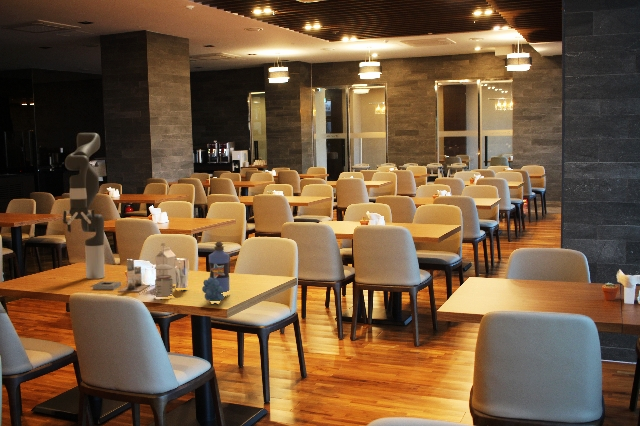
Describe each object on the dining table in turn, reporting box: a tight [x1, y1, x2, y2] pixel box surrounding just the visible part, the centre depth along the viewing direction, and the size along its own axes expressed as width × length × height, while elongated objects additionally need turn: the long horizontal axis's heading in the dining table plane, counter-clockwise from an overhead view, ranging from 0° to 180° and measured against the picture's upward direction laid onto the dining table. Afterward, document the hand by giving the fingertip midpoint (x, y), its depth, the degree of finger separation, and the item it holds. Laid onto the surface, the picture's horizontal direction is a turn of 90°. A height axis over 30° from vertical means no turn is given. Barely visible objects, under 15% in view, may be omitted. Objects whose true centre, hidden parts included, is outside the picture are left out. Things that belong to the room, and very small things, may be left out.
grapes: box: [201, 276, 225, 302], centre depth 307 cm, size 12×7×12 cm, turn 58°
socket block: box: [92, 280, 122, 291], centre depth 341 cm, size 10×10×3 cm
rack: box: [117, 283, 151, 294], centre depth 339 cm, size 18×10×2 cm, turn 175°
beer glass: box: [174, 257, 190, 289], centre depth 340 cm, size 7×7×15 cm
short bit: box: [134, 266, 143, 286], centre depth 343 cm, size 3×3×9 cm
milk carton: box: [155, 246, 177, 286], centre depth 348 cm, size 7×7×19 cm
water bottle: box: [208, 241, 230, 292], centre depth 326 cm, size 9×9×25 cm
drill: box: [126, 258, 135, 290], centre depth 334 cm, size 3×3×14 cm
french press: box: [154, 242, 174, 297], centre depth 324 cm, size 10×12×25 cm
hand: (79, 231), depth 338 cm, fingers open, 8 cm apart
